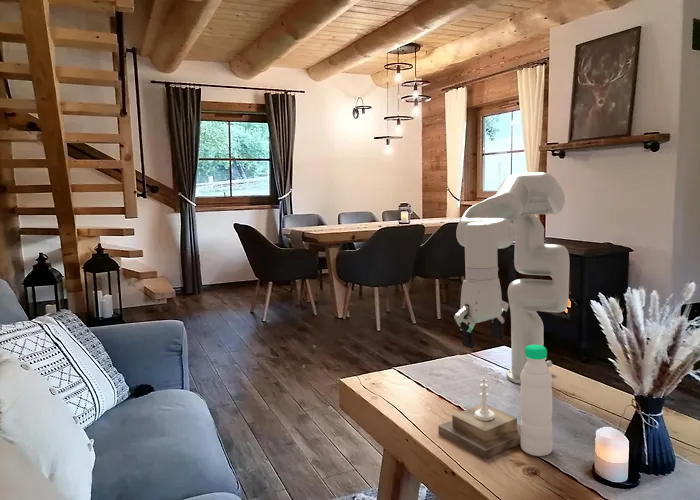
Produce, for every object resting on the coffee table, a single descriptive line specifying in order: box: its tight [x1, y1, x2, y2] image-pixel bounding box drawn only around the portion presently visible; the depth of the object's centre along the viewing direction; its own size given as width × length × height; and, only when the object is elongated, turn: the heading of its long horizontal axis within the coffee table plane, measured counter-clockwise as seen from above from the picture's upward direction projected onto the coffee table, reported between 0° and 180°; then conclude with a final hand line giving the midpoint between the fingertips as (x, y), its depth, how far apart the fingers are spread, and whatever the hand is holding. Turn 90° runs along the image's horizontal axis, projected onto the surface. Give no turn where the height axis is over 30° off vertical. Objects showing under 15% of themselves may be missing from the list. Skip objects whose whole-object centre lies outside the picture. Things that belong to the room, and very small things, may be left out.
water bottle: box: [519, 345, 553, 457], centre depth 123 cm, size 7×7×25 cm
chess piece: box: [474, 377, 495, 421], centre depth 131 cm, size 5×5×10 cm
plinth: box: [437, 403, 521, 460], centre depth 132 cm, size 16×16×5 cm
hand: (483, 342), depth 129 cm, fingers open, 9 cm apart
